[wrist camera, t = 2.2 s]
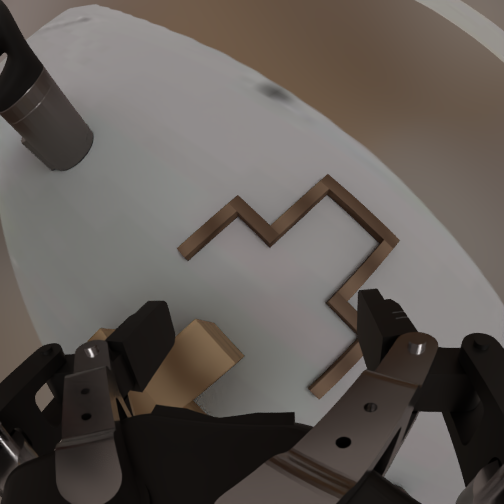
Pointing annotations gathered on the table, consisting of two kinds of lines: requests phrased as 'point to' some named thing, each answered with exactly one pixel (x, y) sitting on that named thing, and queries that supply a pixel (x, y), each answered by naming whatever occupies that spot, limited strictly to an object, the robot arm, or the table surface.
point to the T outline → (284, 224)
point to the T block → (185, 367)
